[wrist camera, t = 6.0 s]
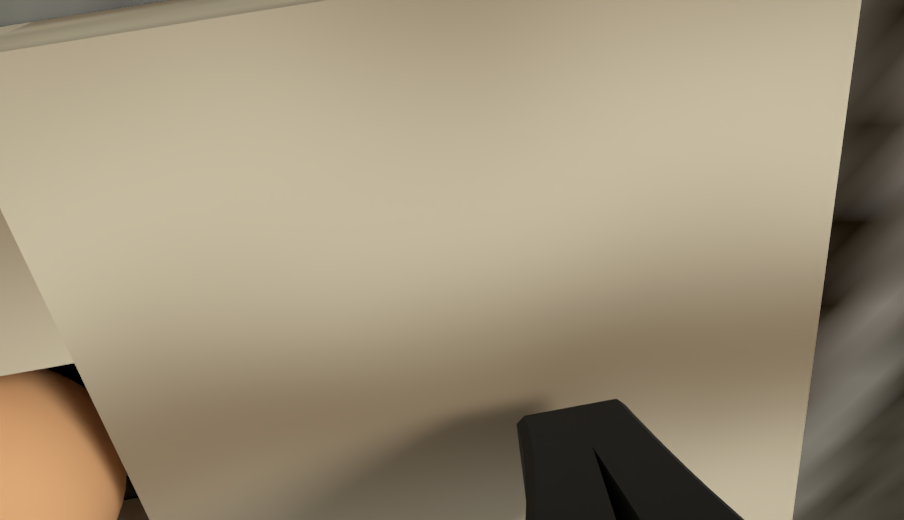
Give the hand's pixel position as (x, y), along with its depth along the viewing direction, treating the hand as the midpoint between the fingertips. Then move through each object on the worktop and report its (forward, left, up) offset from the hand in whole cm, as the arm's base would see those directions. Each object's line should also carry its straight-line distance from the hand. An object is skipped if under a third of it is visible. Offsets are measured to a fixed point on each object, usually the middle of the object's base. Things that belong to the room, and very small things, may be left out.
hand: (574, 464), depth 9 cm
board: (0, +6, -3) cm, 7 cm away
